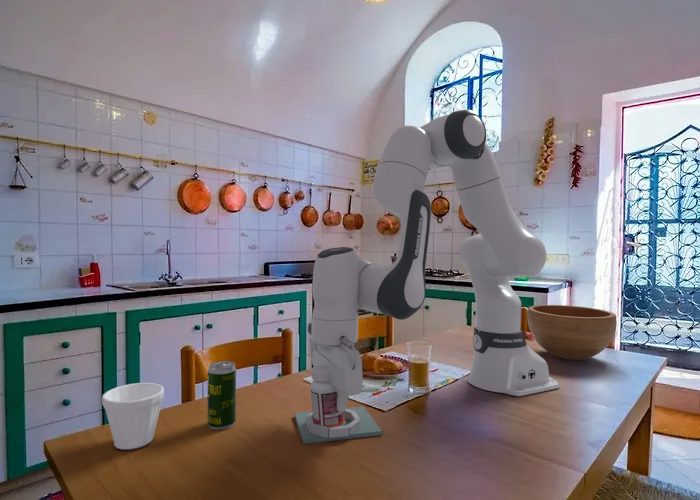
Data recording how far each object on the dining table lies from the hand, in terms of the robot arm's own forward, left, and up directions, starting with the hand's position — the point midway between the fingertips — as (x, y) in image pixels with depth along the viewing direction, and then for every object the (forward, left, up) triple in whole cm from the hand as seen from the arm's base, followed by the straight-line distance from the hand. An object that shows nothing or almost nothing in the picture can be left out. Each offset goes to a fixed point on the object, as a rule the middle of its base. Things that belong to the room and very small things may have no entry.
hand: (334, 402), depth 83 cm
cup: (+36, -3, -6) cm, 37 cm away
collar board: (-1, -2, -5) cm, 6 cm away
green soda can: (+21, -7, -6) cm, 23 cm away
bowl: (-84, -32, -6) cm, 90 cm away
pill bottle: (+1, 0, -4) cm, 5 cm away
